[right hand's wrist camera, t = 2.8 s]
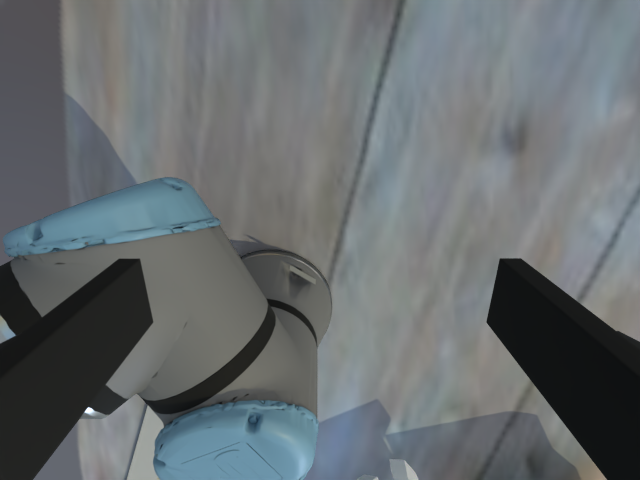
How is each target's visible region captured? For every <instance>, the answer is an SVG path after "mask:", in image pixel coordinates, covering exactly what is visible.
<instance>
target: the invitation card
mask: <svg viewBox="0 0 640 480" xmlns="http://www.w3.org/2000/svg"><path fill="white" fill-rule="evenodd" d="M163 428H164V425H163V422H162V421H161V419H160V418H159V417H158V416H157V415H156V414H155V413H154V412H153V410H152V409H151V408H150V407H149V406H147V410H146V413H145V417H144V420H143V424H142V427H141V431H140V434H139V438H138V442H137V445H136V449H135V452H134V456H133V459H132V463H131V466H130V470H129V473H128V477H127V480H160V479H159V477H158V476H157V475H156V473H155V470H154V466H153V458H154V455H155V454H154V450H155V445H154V443H155V439H156V438H157V436H158V434H159V432H160V430H161V429H163Z"/></svg>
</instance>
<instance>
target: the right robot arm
mask: <svg viewBox="0 0 640 480" xmlns="http://www.w3.org/2000/svg"><path fill="white" fill-rule="evenodd" d="M220 224H221V223H220V220H219V219H217V218H215V217H214V216H213V215H212V213H211V212H210V210H209V209H208V208H207V206H206V205H205V203H204V202H203V201H202V199H201V198H200V196H199V195H198V194H197V192H196V191H195V189H194V188H193V187H192V186H191V185H190V184H188V183H187V182H185V181H183V180H181V179H178V178H173V177H165V178H159V179H155V180H151V181H148V182H144V183H141V184H137V185H134V186H131V187H128V188H125V189H122V190H118V191H115V192H112V193H109V194H106V195H104V196H101V197H98V198H95V199H92V200H89V201H86V202H84V203H81V204H78V205H75V206H73V207H70V208H67V209H65V210H62V211H59V212H57V213H54V214H52V215H49V216H47V217H44V218H43V219H41V220H38V221H35V222H33V223H31V224H29V225H26V226H22V227H19V228H17V229H15V230H13V231H11V232H9V233H7V234H6V235H5V236H4V238H3V243H4V246H5V253H6V254H7V255H8V256H9V257H10V256H12V257H14V259H13V260H11V261H10V262H8V263H6V264H4V265H2V266H0V480H33V479H34V477H35V476H36V475H37V473H38V472H39V471H40V470H41V468H42V467H43V466H44V464H45V463H46V462H47V461H48V459H49V458H50V457H51V455H52V454H53V453H54V451H55V450H56V449H57V447H58V446H59V445H60V443H61V442H62V441H63V440H64V438H65V437H66V436H67V434H68V433H69V432H70V431H71V429H72V428H73V427H74V425H75V424H76V423H77V421H78V420H79V419H102V418H106V417H107V416H108V415H110V414H111V413H112V412H113V411H115V410H116V409H117V408H118V407H120V406H121V405H122V404H123V403H124V402H126V401H127V400H128V399H129V398H131V397H132V396H133V395H135V394H138V395H139V396H140V397H141V398H142V399H143V400H144V401H145V402H146V404H147V405H148V406H149V407H150V408H151V409H152V410H153V412H154V413H155V414H156V415H157V416H158V417H159V418H160V419H161V421H162V422H163V425H164V428H163V429H161V430H160V432H159V434H158V436H157V438H156V439H155V443H154V445H155V450H154V454H155V455H154V458H153V466H154V470H155V473H156V475H157V476H158V477H159V479H160V480H303V479H304V478H305V477H306V475H307V472H308V471H309V470H310V469H311V467H312V464H313V461H314V456H315V449H316V441H317V434H318V429H319V424H318V420H317V347H318V346H319V344H320V342H321V340H322V338H323V336H324V334H325V333H326V331H327V329H328V326H329V323H330V319H331V314H332V299H331V292H330V289H329V286H328V284H327V281H326V280H325V278H324V276H323V275H322V274H321V272H320V271H319V270H318V269H317V268H316V267H315V266H314V265H313V264H312V263H310V262H309V261H307V260H306V259H304V258H302V257H300V256H298V255H296V254H293V253H290V252H286V251H280V250H262V251H256V252H253V253H250V254H247V255H245V256H243V257H241V258H240V257H239V255H238V254H237V252H236V251H235V249H234V247H233V246H232V244H231V243H230V241H229V239H228V238H227V236H226V235H225V233H224V232H223V230H222V228H221V227H220ZM487 324H488V325H489V326H490V327H491V329H492V330H493V331H494V333H495V334H496V335H497V337H498V338H499V339H500V341H501V342H502V343H503V344H504V346H505V347H506V348H507V350H508V351H509V352H510V354H511V355H512V356H513V357H514V359H515V360H516V361H517V363H518V364H519V365H520V367H521V368H522V369H523V371H524V372H525V373H526V374H527V376H528V377H529V378H530V380H531V381H532V382H533V384H534V385H535V386H536V387H537V389H538V390H539V391H540V393H541V394H542V395H543V397H544V398H545V399H546V401H547V402H548V403H549V404H550V406H551V407H552V408H553V410H554V411H555V412H556V414H557V415H558V416H559V417H560V419H561V420H562V421H563V423H564V424H565V425H566V427H567V428H568V429H569V431H570V432H571V433H572V434H573V436H574V437H575V438H576V440H577V441H578V442H579V444H580V445H581V446H582V447H583V449H584V450H585V451H586V453H587V454H588V455H589V457H590V458H591V459H592V461H593V462H594V463H595V464H596V466H597V467H598V468H599V470H600V471H601V472H602V474H603V475H604V476H605V477H606V479H607V480H640V342H639V341H637V340H635V339H633V338H631V337H629V336H627V335H625V334H623V333H621V332H619V331H615V330H614V329H613V328H611V327H610V326H609V325H607V324H606V323H605V322H603V321H602V320H601V319H599V318H598V317H597V316H595V315H594V314H593V313H592V312H590V311H589V310H588V309H586V308H585V307H584V306H582V305H581V304H580V303H578V302H577V301H576V300H575V299H573V298H572V297H571V296H569V295H568V294H567V293H565V292H564V291H563V290H561V289H560V288H559V287H558V286H556V285H555V284H554V283H552V282H551V281H550V280H548V279H547V278H546V277H544V276H543V275H542V274H540V273H539V272H538V271H537V270H535V269H534V268H533V267H531V266H530V265H529V264H527V263H526V262H525V261H523V260H522V259H500V261H499V265H498V270H497V275H496V280H495V284H494V289H493V294H492V299H491V303H490V308H489V313H488V317H487Z"/></svg>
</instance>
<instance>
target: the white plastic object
mask: <svg viewBox="0 0 640 480" xmlns="http://www.w3.org/2000/svg"><path fill="white" fill-rule="evenodd" d="M389 461H390V467H391V472H392V476H393V478H394V480H418V477H417V475H416V473H415V472H414V471H413V469H412V468H411V467H410V466H409V465H408V464H407V462H406V461H405V460H399V459H389ZM357 480H379V479H378V477H375V476H370V475H365V474H364V475H362V476H361V477H359V478H358V479H357Z"/></svg>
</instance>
